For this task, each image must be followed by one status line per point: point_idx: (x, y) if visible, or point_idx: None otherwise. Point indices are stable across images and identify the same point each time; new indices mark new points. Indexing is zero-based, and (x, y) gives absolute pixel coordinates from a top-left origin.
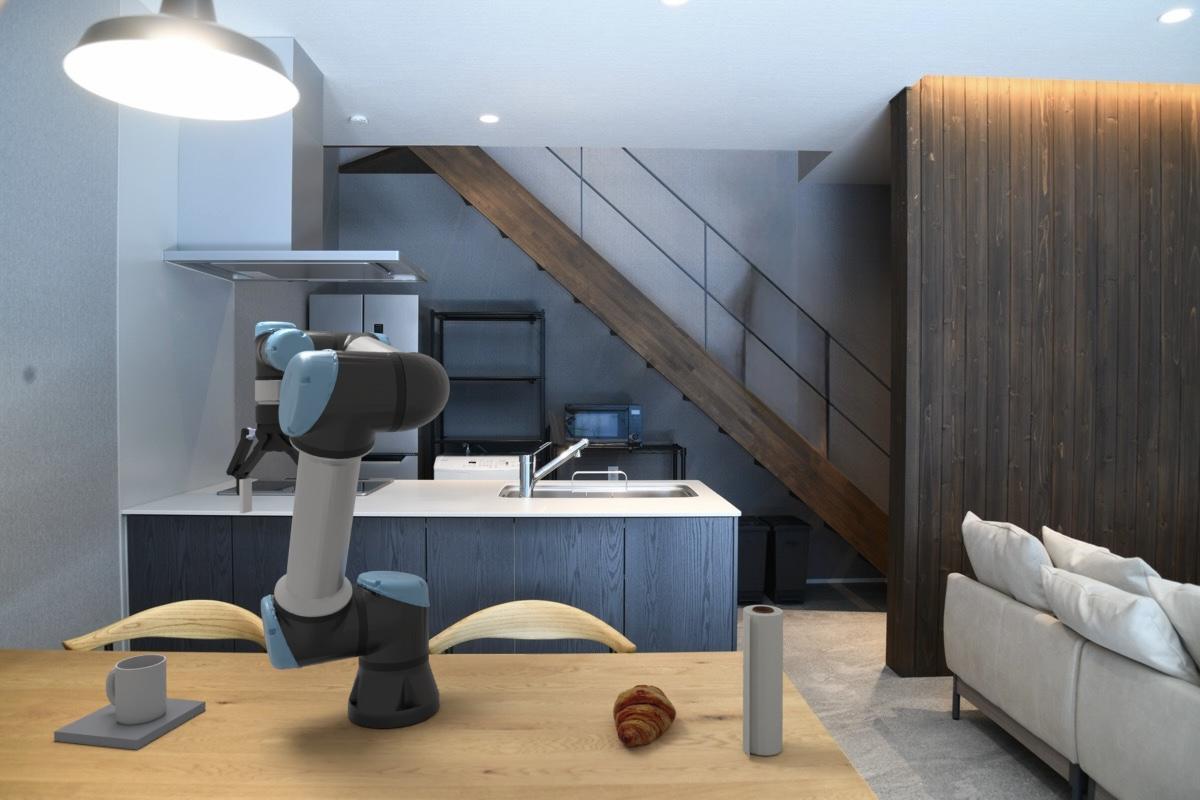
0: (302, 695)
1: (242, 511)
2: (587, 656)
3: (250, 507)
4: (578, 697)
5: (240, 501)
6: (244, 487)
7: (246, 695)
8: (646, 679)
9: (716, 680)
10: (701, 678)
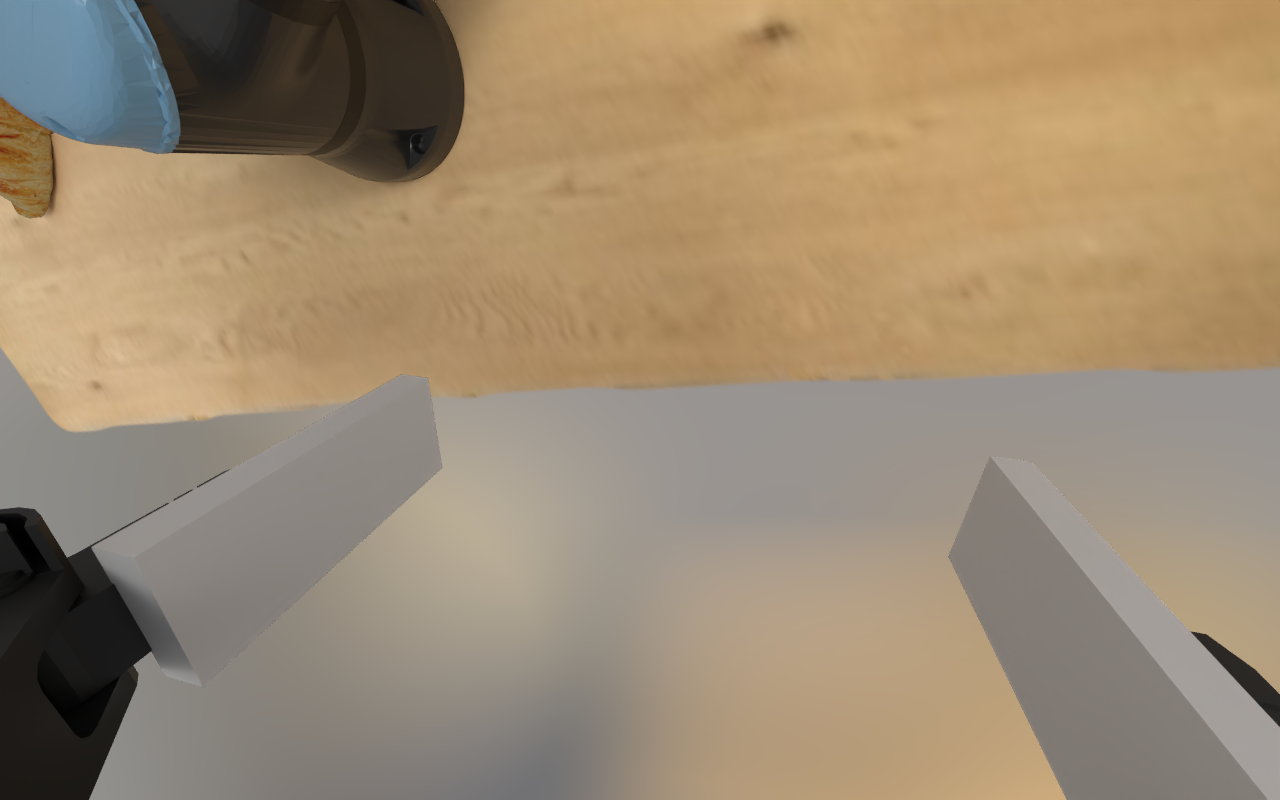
0: (605, 124)
1: (1004, 464)
2: (239, 400)
3: (968, 566)
4: (150, 212)
5: (1087, 534)
6: (1150, 704)
7: (739, 95)
8: (115, 307)
9: (41, 314)
10: (60, 320)
